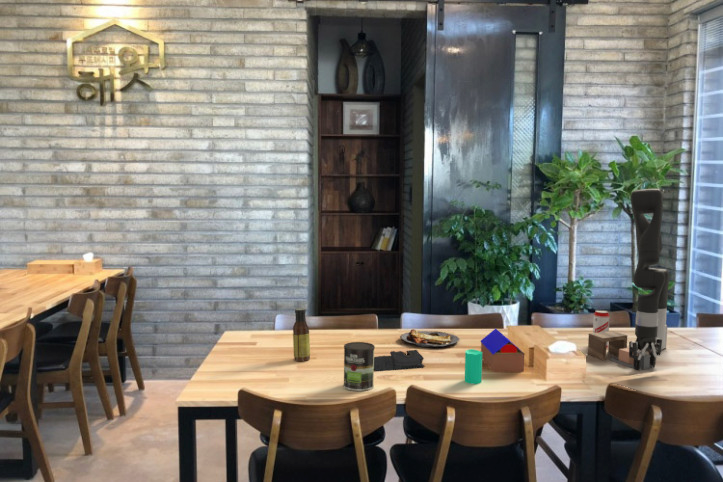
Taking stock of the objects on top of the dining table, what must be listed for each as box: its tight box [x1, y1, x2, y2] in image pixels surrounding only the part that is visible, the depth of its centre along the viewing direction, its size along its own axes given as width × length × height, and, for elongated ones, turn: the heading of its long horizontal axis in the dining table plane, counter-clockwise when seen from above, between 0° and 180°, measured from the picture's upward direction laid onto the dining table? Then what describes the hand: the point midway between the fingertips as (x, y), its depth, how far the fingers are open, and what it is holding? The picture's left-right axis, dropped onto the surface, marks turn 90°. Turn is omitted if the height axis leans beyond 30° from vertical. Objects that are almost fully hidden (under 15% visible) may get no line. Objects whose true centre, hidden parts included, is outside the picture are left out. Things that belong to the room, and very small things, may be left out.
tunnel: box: [587, 330, 628, 361], centre depth 264 cm, size 12×8×10 cm, turn 114°
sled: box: [609, 353, 654, 371], centre depth 253 cm, size 7×14×6 cm, turn 24°
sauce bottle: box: [292, 307, 311, 363], centre depth 259 cm, size 7×6×20 cm
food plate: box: [399, 329, 461, 348], centre depth 290 cm, size 25×23×4 cm
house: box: [480, 328, 525, 373], centre depth 257 cm, size 12×20×12 cm, turn 3°
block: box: [619, 347, 639, 365], centre depth 255 cm, size 5×5×5 cm
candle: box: [464, 348, 483, 385], centre depth 235 cm, size 6×6×12 cm
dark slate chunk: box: [374, 349, 426, 372], centre depth 255 cm, size 15×22×5 cm
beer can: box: [592, 309, 611, 349], centre depth 279 cm, size 6×6×16 cm
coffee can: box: [343, 341, 376, 392], centre depth 228 cm, size 10×10×14 cm
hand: (644, 368), depth 248 cm, fingers closed on sled, 6 cm apart
